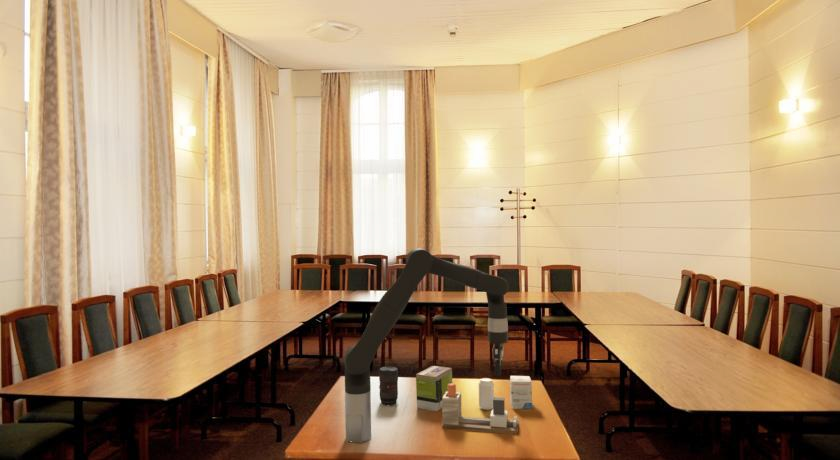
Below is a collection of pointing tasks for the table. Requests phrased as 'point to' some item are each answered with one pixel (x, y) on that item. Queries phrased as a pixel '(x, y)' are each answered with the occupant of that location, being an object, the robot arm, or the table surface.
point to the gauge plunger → (451, 390)
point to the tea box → (432, 387)
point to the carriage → (498, 413)
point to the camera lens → (388, 385)
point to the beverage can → (486, 393)
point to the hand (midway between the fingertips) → (498, 372)
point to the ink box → (521, 392)
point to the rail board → (482, 428)
